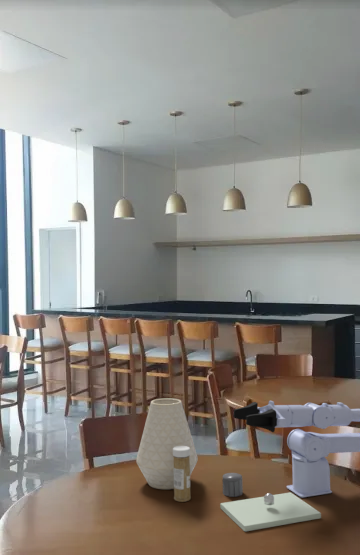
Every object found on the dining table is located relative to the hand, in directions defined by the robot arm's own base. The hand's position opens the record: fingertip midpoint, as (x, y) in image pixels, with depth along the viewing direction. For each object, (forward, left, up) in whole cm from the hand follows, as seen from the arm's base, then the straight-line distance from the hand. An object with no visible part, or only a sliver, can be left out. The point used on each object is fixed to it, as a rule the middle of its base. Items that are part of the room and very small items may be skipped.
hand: (240, 417), depth 140 cm
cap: (0, -6, -22) cm, 22 cm away
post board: (-3, +9, -22) cm, 24 cm away
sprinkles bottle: (+14, -7, -22) cm, 27 cm away
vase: (+14, -20, -22) cm, 33 cm away
